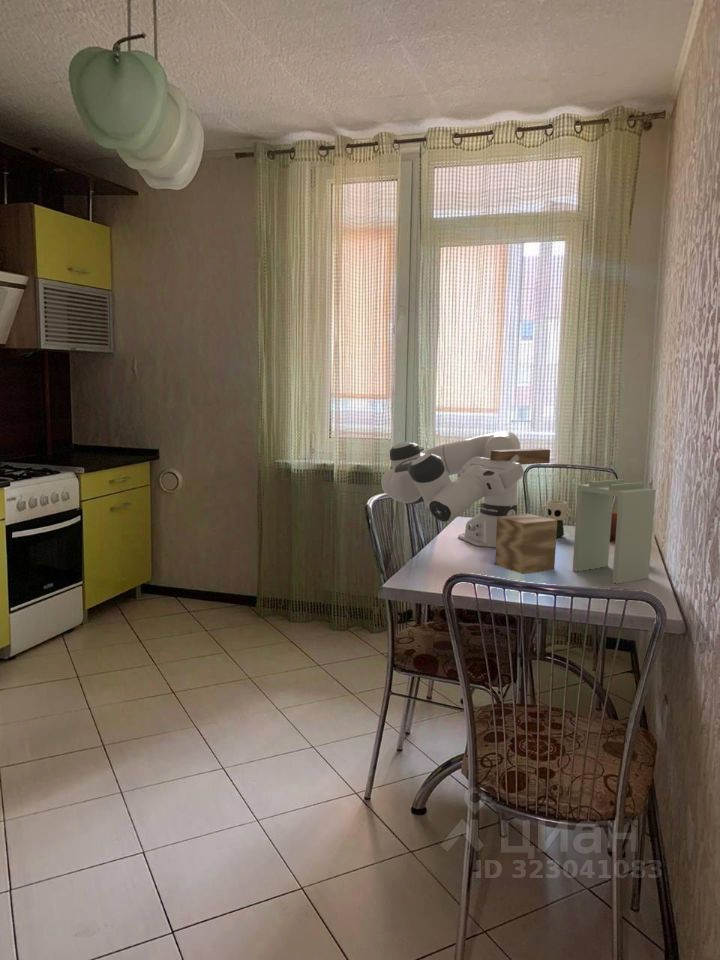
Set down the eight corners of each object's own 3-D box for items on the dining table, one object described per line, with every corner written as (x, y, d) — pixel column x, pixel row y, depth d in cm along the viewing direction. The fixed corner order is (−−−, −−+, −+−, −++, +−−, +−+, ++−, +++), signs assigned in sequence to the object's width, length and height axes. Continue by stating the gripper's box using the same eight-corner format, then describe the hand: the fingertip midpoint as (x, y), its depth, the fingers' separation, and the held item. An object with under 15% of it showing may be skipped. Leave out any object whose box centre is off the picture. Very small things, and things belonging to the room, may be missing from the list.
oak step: (494, 564, 221) (497, 516, 219) (525, 560, 228) (528, 513, 226) (522, 574, 211) (525, 523, 209) (554, 569, 218) (557, 520, 216)
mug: (593, 539, 262) (595, 511, 260) (597, 535, 269) (599, 508, 268) (628, 543, 256) (630, 515, 255) (631, 539, 264) (633, 511, 263)
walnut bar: (490, 464, 209) (490, 450, 209) (539, 461, 220) (540, 448, 219) (499, 465, 206) (500, 451, 205) (549, 463, 216) (550, 449, 216)
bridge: (572, 570, 216) (578, 479, 212) (603, 565, 223) (610, 477, 220) (616, 583, 203) (623, 487, 199) (648, 577, 210) (656, 484, 206)
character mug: (537, 535, 266) (539, 501, 264) (544, 533, 271) (546, 498, 270) (565, 540, 259) (568, 504, 258) (572, 537, 265) (575, 502, 263)
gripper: (458, 485, 215) (489, 461, 220) (506, 495, 198) (538, 468, 203) (450, 467, 213) (482, 443, 218) (498, 476, 195) (531, 449, 201)
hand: (510, 455), depth 210 cm, fingers closed on walnut bar, 4 cm apart
